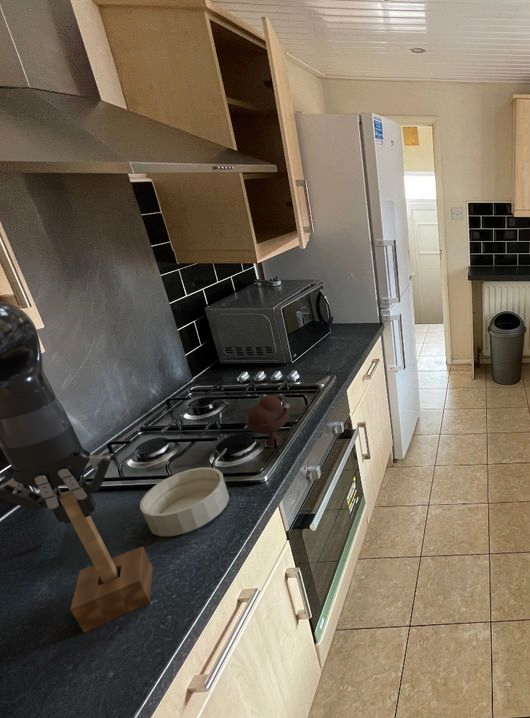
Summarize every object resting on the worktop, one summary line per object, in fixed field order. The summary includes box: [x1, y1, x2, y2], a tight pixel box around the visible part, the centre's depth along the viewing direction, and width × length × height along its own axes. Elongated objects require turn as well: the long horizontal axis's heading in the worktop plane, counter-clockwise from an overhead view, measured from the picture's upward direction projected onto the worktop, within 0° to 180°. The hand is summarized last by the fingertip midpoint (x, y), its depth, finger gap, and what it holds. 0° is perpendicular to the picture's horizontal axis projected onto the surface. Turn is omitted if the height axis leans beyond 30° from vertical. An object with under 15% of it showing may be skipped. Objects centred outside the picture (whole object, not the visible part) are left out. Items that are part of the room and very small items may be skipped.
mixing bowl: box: [139, 467, 230, 537], centre depth 96 cm, size 15×15×6 cm
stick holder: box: [70, 545, 154, 633], centre depth 77 cm, size 9×9×6 cm
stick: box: [59, 490, 119, 584], centre depth 72 cm, size 2×2×20 cm
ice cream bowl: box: [244, 395, 289, 446], centre depth 119 cm, size 11×11×15 cm
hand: (79, 516), depth 70 cm, fingers closed on stick, 2 cm apart
